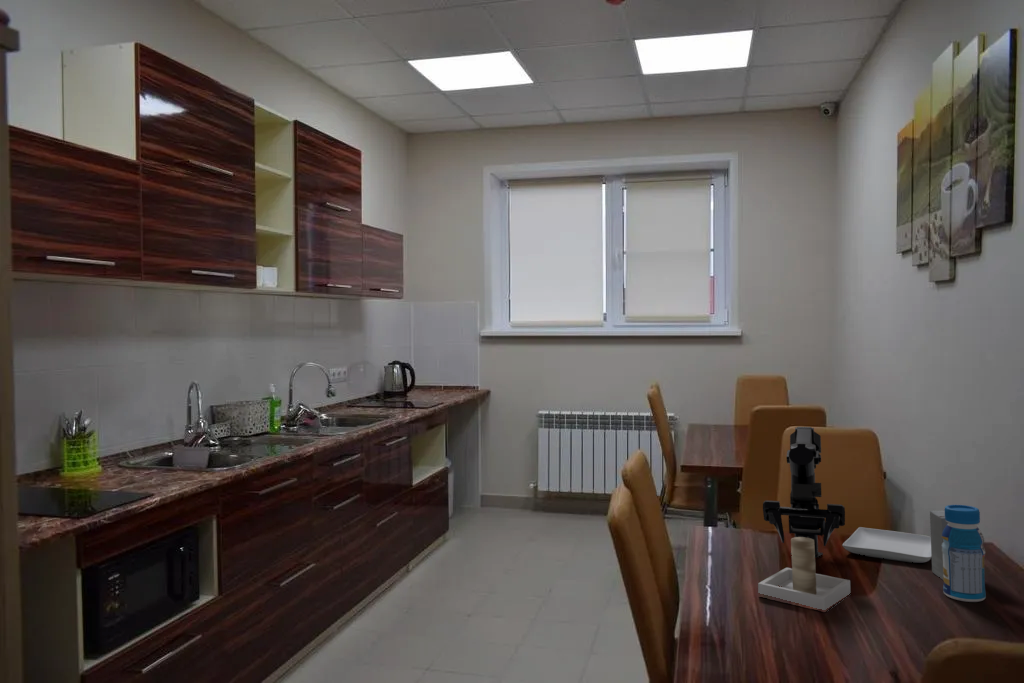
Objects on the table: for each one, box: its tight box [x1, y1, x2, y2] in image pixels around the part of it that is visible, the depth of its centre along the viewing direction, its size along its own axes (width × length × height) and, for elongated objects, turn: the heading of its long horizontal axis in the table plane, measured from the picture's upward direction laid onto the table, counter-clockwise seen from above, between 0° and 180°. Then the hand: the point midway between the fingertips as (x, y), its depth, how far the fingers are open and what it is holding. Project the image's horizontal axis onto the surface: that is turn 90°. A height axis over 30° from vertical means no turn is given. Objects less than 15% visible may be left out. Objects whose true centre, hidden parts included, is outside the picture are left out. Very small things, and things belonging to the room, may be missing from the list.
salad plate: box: [842, 526, 932, 564], centre depth 199 cm, size 21×21×3 cm
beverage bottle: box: [941, 504, 987, 603], centre depth 164 cm, size 8×8×20 cm
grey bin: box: [757, 567, 851, 610], centre depth 168 cm, size 15×15×3 cm
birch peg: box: [790, 536, 817, 595], centre depth 168 cm, size 5×5×12 cm
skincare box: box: [929, 510, 978, 581], centre depth 177 cm, size 8×7×16 cm
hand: (803, 543), depth 175 cm, fingers open, 9 cm apart
